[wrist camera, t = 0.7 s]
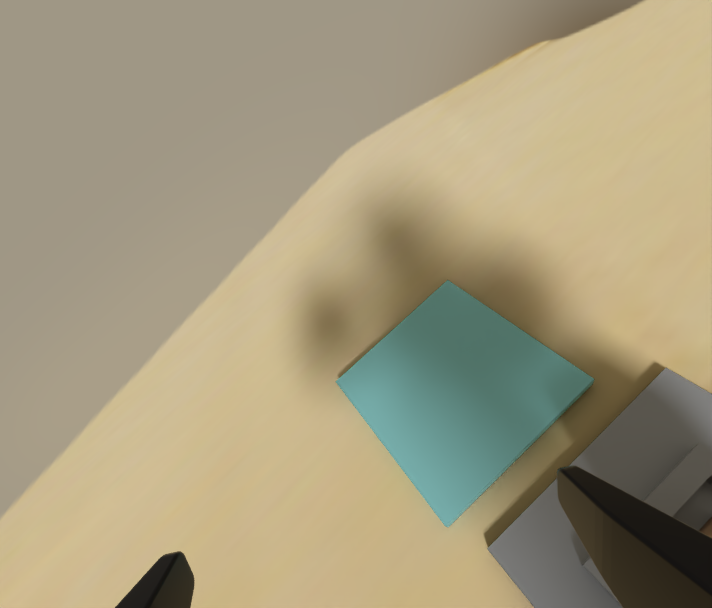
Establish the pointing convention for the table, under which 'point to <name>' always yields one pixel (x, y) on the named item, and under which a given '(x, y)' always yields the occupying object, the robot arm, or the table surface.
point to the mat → (459, 396)
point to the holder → (627, 472)
